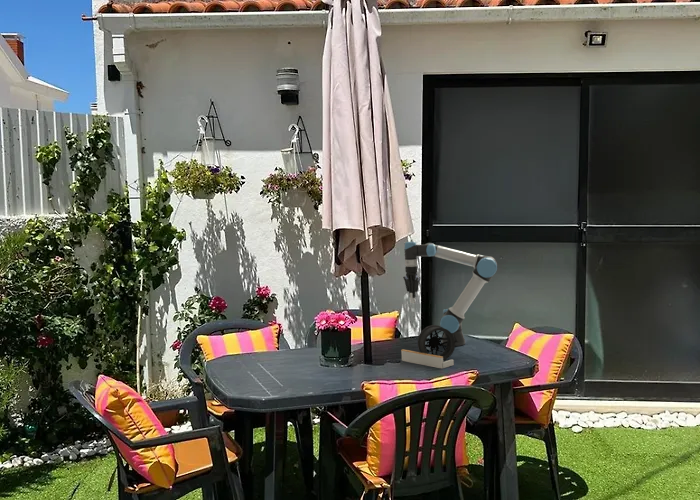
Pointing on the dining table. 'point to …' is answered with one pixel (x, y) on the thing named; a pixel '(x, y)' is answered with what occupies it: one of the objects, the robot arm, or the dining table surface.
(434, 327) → the wheel rim
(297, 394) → the dining table surface
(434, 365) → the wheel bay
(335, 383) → the dining table surface
